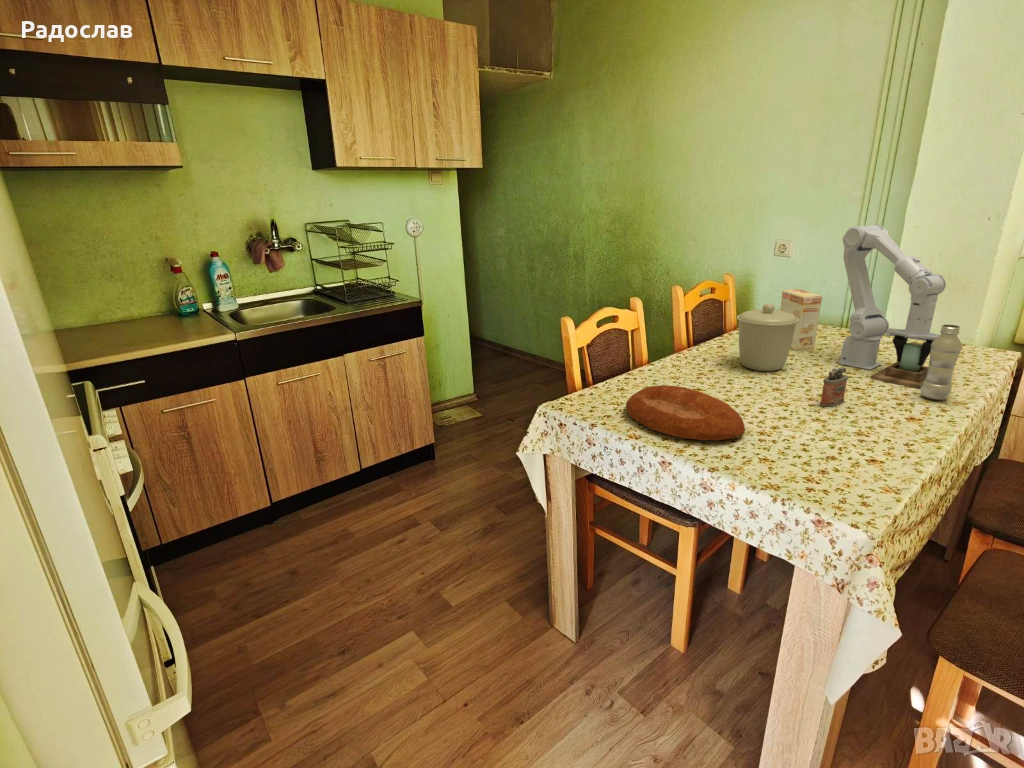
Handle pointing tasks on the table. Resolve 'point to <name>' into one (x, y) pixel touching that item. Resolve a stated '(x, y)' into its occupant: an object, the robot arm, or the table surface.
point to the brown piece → (901, 376)
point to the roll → (911, 357)
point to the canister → (765, 337)
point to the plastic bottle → (942, 364)
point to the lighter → (834, 388)
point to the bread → (685, 413)
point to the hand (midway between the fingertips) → (910, 363)
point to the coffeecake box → (802, 316)
